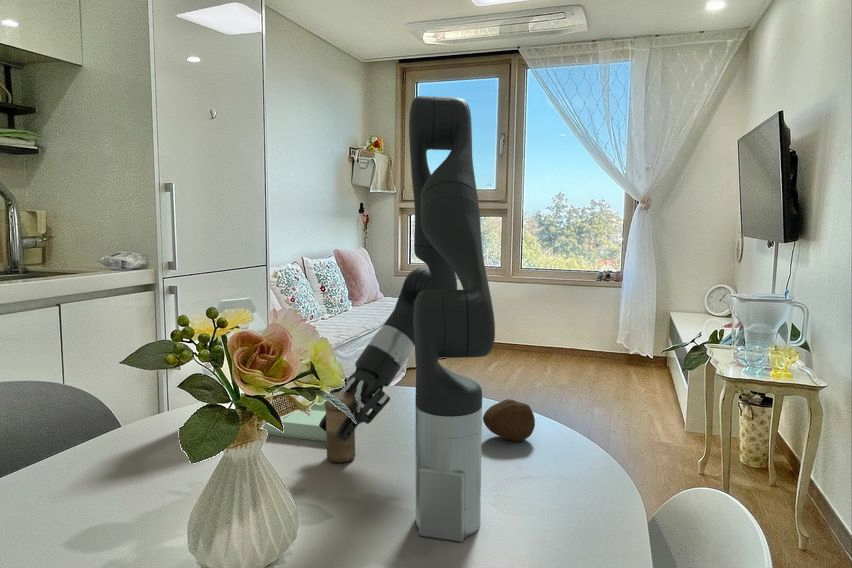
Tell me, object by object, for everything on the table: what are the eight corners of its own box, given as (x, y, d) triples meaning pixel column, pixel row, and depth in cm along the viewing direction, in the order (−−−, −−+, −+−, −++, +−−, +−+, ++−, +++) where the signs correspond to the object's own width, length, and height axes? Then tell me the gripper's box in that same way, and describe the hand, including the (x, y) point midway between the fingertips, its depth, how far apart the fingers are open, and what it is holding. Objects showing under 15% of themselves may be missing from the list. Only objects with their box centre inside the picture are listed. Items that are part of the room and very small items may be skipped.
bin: (338, 442, 105) (338, 427, 105) (264, 434, 109) (263, 419, 109) (368, 413, 121) (368, 400, 120) (302, 407, 125) (301, 394, 124)
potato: (538, 446, 104) (539, 406, 103) (487, 448, 103) (487, 408, 102) (527, 431, 111) (528, 393, 110) (479, 433, 110) (479, 395, 109)
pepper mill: (348, 463, 96) (347, 402, 94) (321, 460, 97) (319, 399, 96) (360, 451, 101) (359, 393, 99) (333, 448, 102) (332, 390, 100)
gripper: (351, 337, 107) (297, 412, 100) (398, 350, 96) (341, 435, 89) (373, 359, 111) (323, 432, 104) (421, 374, 100) (368, 457, 94)
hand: (331, 433), depth 97 cm, fingers closed on pepper mill, 5 cm apart
